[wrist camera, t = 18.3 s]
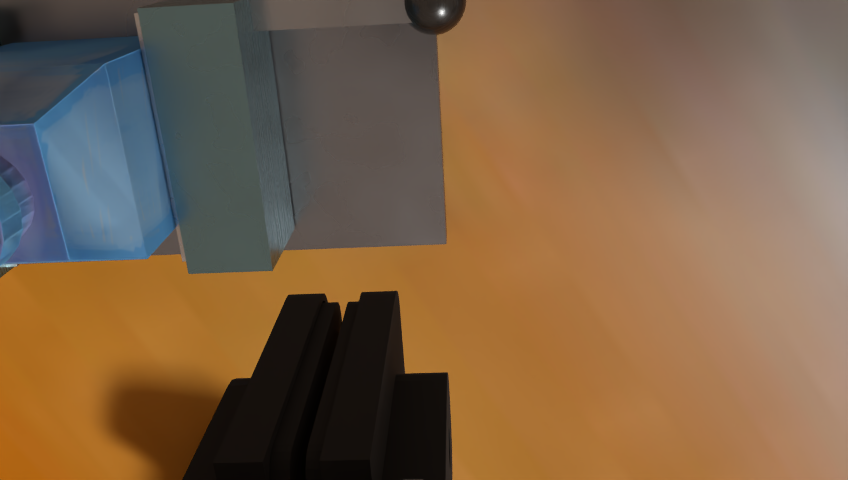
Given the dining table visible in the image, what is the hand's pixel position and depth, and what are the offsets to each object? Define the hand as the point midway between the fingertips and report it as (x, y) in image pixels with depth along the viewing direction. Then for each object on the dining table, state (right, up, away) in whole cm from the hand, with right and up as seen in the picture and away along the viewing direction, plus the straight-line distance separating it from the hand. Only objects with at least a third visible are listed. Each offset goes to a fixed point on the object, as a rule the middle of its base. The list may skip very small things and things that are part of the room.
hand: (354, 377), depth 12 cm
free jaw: (-3, +7, +17) cm, 18 cm away
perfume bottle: (-11, +7, +17) cm, 22 cm away
